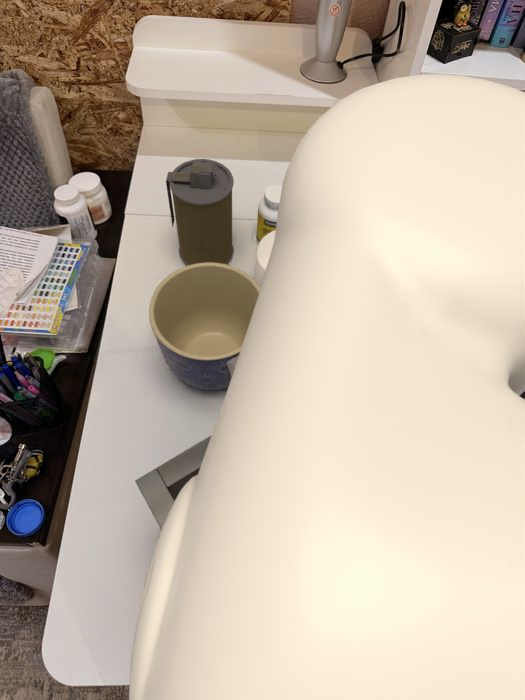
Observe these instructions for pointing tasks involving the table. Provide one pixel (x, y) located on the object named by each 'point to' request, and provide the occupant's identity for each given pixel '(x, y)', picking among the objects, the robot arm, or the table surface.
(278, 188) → the pill bottle
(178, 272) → the planter
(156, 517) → the metal storage bin
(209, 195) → the canister
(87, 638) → the table surface
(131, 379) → the table surface
